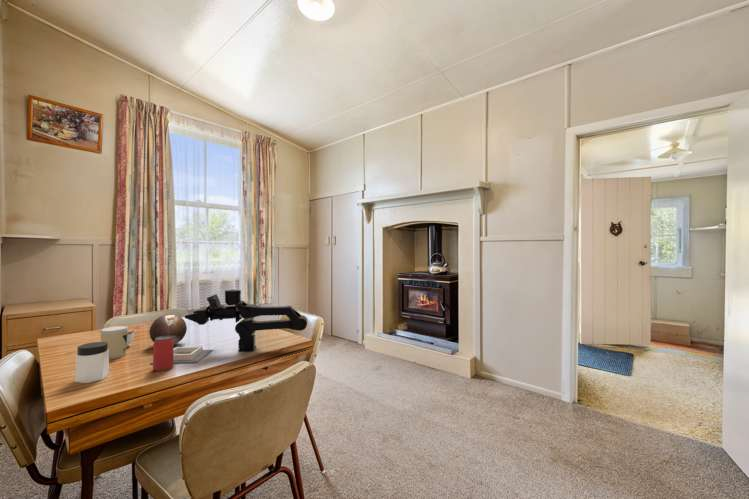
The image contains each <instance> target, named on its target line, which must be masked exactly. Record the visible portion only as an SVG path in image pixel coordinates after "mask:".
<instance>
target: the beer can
mask: <svg viewBox="0 0 749 499" xmlns="http://www.w3.org/2000/svg"><path fill="white" fill-rule="evenodd" d="M152 346H153V348H152V351H153V353H152V362H153V364H152V369H153V370H154V371H155V372H162V371H168V370H170V369H172V368H173V367H174V364H173V350H174V348H175V347H174V342H173V339H172V336H161V337H157V338H155V341H154V342H153V344H152Z"/></svg>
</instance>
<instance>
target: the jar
mask: <svg viewBox="0 0 749 499" xmlns="http://www.w3.org/2000/svg"><path fill="white" fill-rule="evenodd" d="M109 365H110V359H109V349H108V343H107V342H101V341H95V342H93V341H92V342H88V343H84V344H81V345H78V346H77V352H76V355H75V383H78V384H79V383H80V384H90V383H93V382H97V381H102V380H104V379H105V378H106V377H108V376H109V374H110V368H109Z"/></svg>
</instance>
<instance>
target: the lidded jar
mask: <svg viewBox="0 0 749 499" xmlns="http://www.w3.org/2000/svg"><path fill="white" fill-rule="evenodd" d="M127 328H128V327H127ZM134 334H135V329H134V328H128V333H127V344H126V348H128V346H129V345H131V343H132V342H133V339H134Z"/></svg>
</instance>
